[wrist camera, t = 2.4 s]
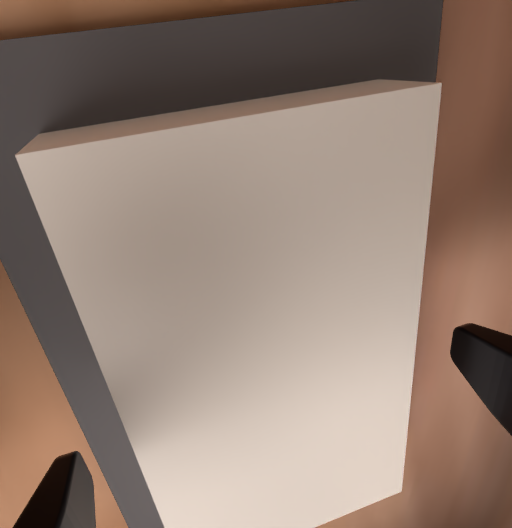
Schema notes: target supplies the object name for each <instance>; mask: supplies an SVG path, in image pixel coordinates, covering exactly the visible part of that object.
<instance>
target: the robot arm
mask: <svg viewBox="0 0 512 528" xmlns="http://www.w3.org/2000/svg"><path fill="white" fill-rule="evenodd" d="M450 355H451V358H452V360H453V362H454V364H455V365H456V366H457V368H458V369H459V370H460V372H461V373H462V374H463V376H464V377H465V378H466V380H467V381H468V382H469V384H470V385H471V386H472V388H473V389H474V391H475V392H476V393H477V395H478V396H479V397H480V399H481V400H482V401H483V403H484V404H485V405H486V407H487V408H488V409H489V410H490V412H491V413H492V414H493V415H494V416H495V418H496V419H497V420H498V421H499V422H500V423H501V425H502V426H503V427H504V428H505V429H506V430H507V431H508V432H509V433H510V435H511V436H512V336H511V335H508V334H505V333H502V332H498V331H495V330H492V329H489V328H486V327H482V326H479V325H476V324H473V323H468V324H465V325H461V326H458V327H456V328H455V329H454V331H453V337H452V343H451V350H450ZM13 528H96V520H95V502H94V485H93V479H92V476H91V474H90V472H89V470H88V468H87V466H86V464H85V462H84V460H83V458H82V456H81V454H80V453H79V452H78V451H74V452H71V453H68V454H65V455H62V456H59V457H57V458H56V459H55V460H54V462H53V463H52V465H51V466H50V468H49V470H48V471H47V473H46V474H45V476H44V478H43V479H42V481H41V483H40V484H39V486H38V487H37V489H36V491H35V492H34V494H33V496H32V497H31V499H30V500H29V502H28V504H27V505H26V507H25V509H24V510H23V512H22V513H21V515H20V517H19V518H18V520H17V522H16V523H15V525H14V526H13Z"/></svg>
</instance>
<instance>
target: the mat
mask: <svg viewBox="0 0 512 528" xmlns="http://www.w3.org/2000/svg"><path fill="white" fill-rule="evenodd" d="M442 8H443V0H356V1H347V2H338V3H329V4H321V5H312V6H303V7H294V8H285V9H276V10H267V11H258V12H249V13H240V14H231V15H222V16H213V17H204V18H195V19H187V20H178V21H169V22H160V23H151V24H142V25H133V26H124V27H115V28H106V29H97V30H88V31H79V32H70V33H61V34H52V35H44V36H35V37H26V38H17V39H8V40H0V260H1V262H2V264H3V266H4V268H5V270H6V272H7V274H8V276H9V279H10V281H11V283H12V285H13V287H14V289H15V291H16V293H17V295H18V297H19V299H20V302H21V304H22V306H23V308H24V310H25V312H26V314H27V316H28V318H29V320H30V322H31V325H32V327H33V329H34V331H35V333H36V335H37V337H38V339H39V341H40V343H41V345H42V348H43V350H44V352H45V354H46V356H47V358H48V360H49V362H50V364H51V366H52V368H53V371H54V373H55V375H56V377H57V379H58V381H59V383H60V385H61V387H62V389H63V391H64V394H65V396H66V398H67V400H68V402H69V404H70V406H71V408H72V410H73V412H74V414H75V417H76V419H77V421H78V423H79V425H80V427H81V429H82V431H83V433H84V435H85V437H86V440H87V442H88V444H89V446H90V448H91V450H92V452H93V454H94V456H95V458H96V460H97V463H98V465H99V467H100V469H101V471H102V473H103V475H104V477H105V479H106V481H107V483H108V486H109V488H110V490H111V492H112V494H113V496H114V498H115V500H116V502H117V504H118V506H119V509H120V511H121V513H122V515H123V517H124V519H125V521H126V523H127V525H128V527H129V528H164V525H163V523H162V520H161V518H160V515H159V513H158V510H157V508H156V505H155V503H154V500H153V498H152V495H151V493H150V490H149V488H148V485H147V483H146V480H145V478H144V475H143V473H142V470H141V468H140V465H139V463H138V460H137V458H136V456H135V453H134V451H133V448H132V446H131V443H130V441H129V438H128V436H127V433H126V431H125V428H124V426H123V423H122V421H121V418H120V416H119V413H118V411H117V408H116V406H115V403H114V401H113V398H112V396H111V393H110V391H109V388H108V386H107V383H106V381H105V378H104V376H103V373H102V371H101V368H100V366H99V363H98V361H97V358H96V356H95V353H94V351H93V348H92V346H91V343H90V341H89V338H88V336H87V333H86V331H85V329H84V326H83V324H82V321H81V319H80V316H79V314H78V311H77V309H76V306H75V304H74V301H73V299H72V296H71V294H70V291H69V289H68V286H67V284H66V281H65V279H64V276H63V274H62V271H61V269H60V266H59V264H58V261H57V259H56V256H55V254H54V251H53V249H52V246H51V244H50V241H49V239H48V236H47V234H46V231H45V229H44V226H43V224H42V221H41V219H40V216H39V214H38V211H37V209H36V206H35V204H34V202H33V199H32V197H31V194H30V192H29V189H28V187H27V184H26V182H25V179H24V177H23V174H22V172H21V169H20V167H19V164H18V162H17V159H16V157H15V155H16V154H17V153H18V152H19V151H20V150H21V149H22V148H23V147H25V146H26V145H27V144H28V143H29V142H30V141H31V140H32V139H34V138H35V137H36V136H37V135H38V134H41V133H47V132H53V131H59V130H66V129H72V128H78V127H84V126H90V125H97V124H103V123H109V122H115V121H122V120H128V119H134V118H140V117H146V116H153V115H159V114H165V113H171V112H178V111H184V110H190V109H196V108H202V107H209V106H215V105H221V104H227V103H234V102H240V101H246V100H252V99H259V98H265V97H271V96H277V95H283V94H290V93H296V92H302V91H308V90H315V89H321V88H327V87H333V86H339V85H346V84H352V83H358V82H364V81H371V80H377V79H383V80H401V81H419V82H436V73H437V62H438V51H439V41H440V30H441V19H442Z"/></svg>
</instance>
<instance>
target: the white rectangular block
mask: <svg viewBox="0 0 512 528" xmlns="http://www.w3.org/2000/svg"><path fill="white" fill-rule="evenodd" d="M441 88H442V83H437V82H419V81H401V80H383V79H377V80H371V81H364V82H358V83H352V84H346V85H339V86H333V87H327V88H321V89H315V90H308V91H302V92H296V93H290V94H283V95H277V96H271V97H265V98H259V99H252V100H246V101H240V102H234V103H227V104H221V105H215V106H209V107H202V108H196V109H190V110H184V111H178V112H171V113H165V114H159V115H153V116H146V117H140V118H134V119H128V120H122V121H115V122H109V123H103V124H97V125H90V126H84V127H78V128H72V129H66V130H59V131H53V132H47V133H41V134H38V135H37V136H36V137H35V138H34V139H32V140H31V141H30V142H29V143H28V144H27V145H26V146H25V147H23V148H22V149H21V150H20V151H19V152H18V153H17V154H16V155H15V157H16V159H17V162H18V164H19V167H20V169H21V172H22V174H23V177H24V179H25V182H26V184H27V187H28V189H29V192H30V194H31V197H32V199H33V202H34V204H35V206H36V209H37V211H38V214H39V216H40V219H41V221H42V224H43V226H44V229H45V231H46V234H47V236H48V239H49V241H50V244H51V246H52V249H53V251H54V254H55V256H56V259H57V261H58V264H59V266H60V269H61V271H62V274H63V276H64V279H65V281H66V284H67V286H68V289H69V291H70V294H71V296H72V299H73V301H74V304H75V306H76V309H77V311H78V314H79V316H80V319H81V321H82V324H83V326H84V329H85V331H86V333H87V336H88V338H89V341H90V343H91V346H92V348H93V351H94V353H95V356H96V358H97V361H98V363H99V366H100V368H101V371H102V373H103V376H104V378H105V381H106V383H107V386H108V388H109V391H110V393H111V396H112V398H113V401H114V403H115V406H116V408H117V411H118V413H119V416H120V418H121V421H122V423H123V426H124V428H125V431H126V433H127V436H128V438H129V441H130V443H131V446H132V448H133V451H134V453H135V456H136V458H137V460H138V463H139V465H140V468H141V470H142V473H143V475H144V478H145V480H146V483H147V485H148V488H149V490H150V493H151V495H152V498H153V500H154V503H155V505H156V508H157V510H158V513H159V515H160V518H161V520H162V523H163V525H164V528H315V527H317V526H319V525H322V524H324V523H327V522H329V521H332V520H334V519H336V518H339V517H341V516H344V515H346V514H348V513H351V512H353V511H356V510H358V509H361V508H363V507H365V506H368V505H370V504H373V503H375V502H378V501H380V500H382V499H385V498H387V497H390V496H392V495H394V494H397V493H399V492H402V482H403V472H404V462H405V452H406V442H407V432H408V422H409V411H410V401H411V391H412V381H413V371H414V361H415V351H416V341H417V331H418V321H419V310H420V300H421V290H422V280H423V270H424V260H425V250H426V240H427V230H428V220H429V209H430V199H431V189H432V179H433V169H434V159H435V149H436V139H437V129H438V119H439V108H440V98H441Z"/></svg>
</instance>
